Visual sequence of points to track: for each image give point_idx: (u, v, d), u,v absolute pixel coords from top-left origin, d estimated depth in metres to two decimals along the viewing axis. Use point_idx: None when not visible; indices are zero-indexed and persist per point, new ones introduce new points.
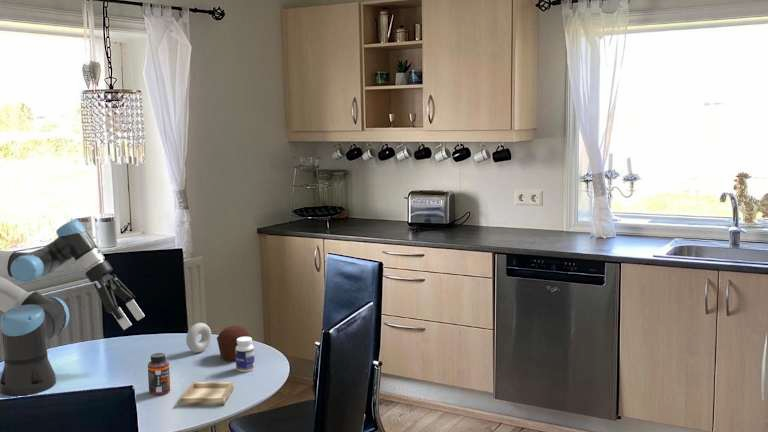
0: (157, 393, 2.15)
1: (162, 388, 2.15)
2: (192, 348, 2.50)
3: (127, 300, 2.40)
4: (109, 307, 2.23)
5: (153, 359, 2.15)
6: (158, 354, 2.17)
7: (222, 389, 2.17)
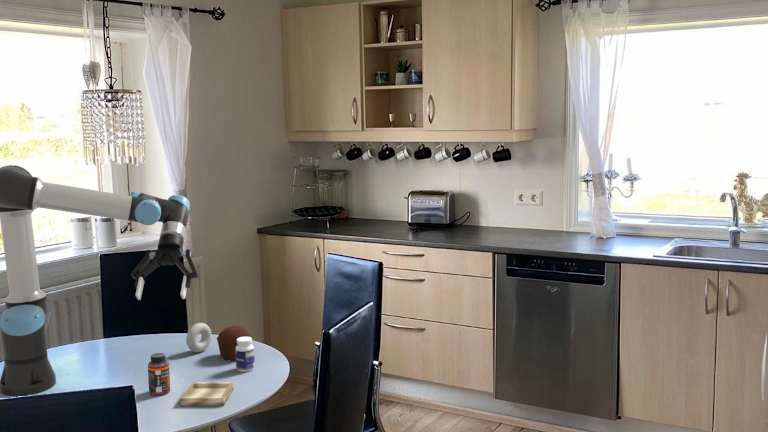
0: (157, 393, 2.15)
1: (162, 388, 2.15)
2: (192, 348, 2.50)
3: (140, 276, 2.31)
4: (197, 274, 2.31)
5: (153, 359, 2.15)
6: (158, 354, 2.17)
7: (222, 389, 2.17)
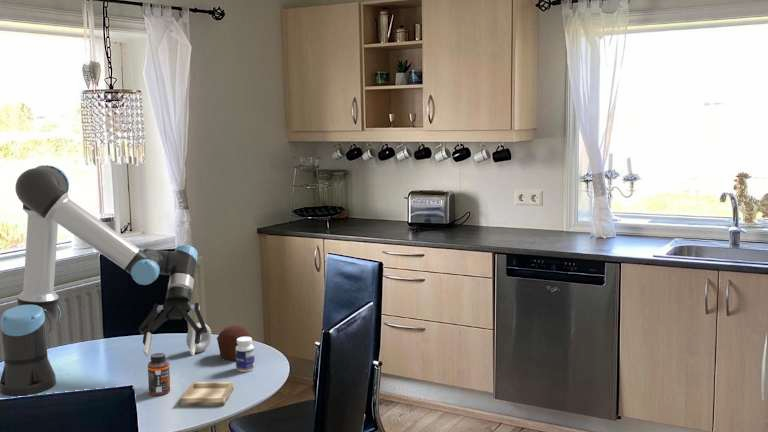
0: (157, 393, 2.15)
1: (162, 388, 2.15)
2: None
3: (148, 331, 2.26)
4: (206, 329, 2.27)
5: (153, 359, 2.15)
6: (158, 354, 2.17)
7: (222, 389, 2.17)
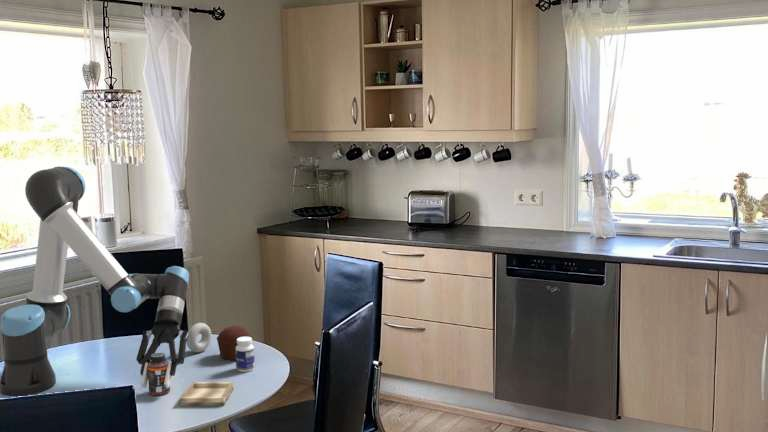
0: (157, 393, 2.15)
1: (162, 388, 2.15)
2: (192, 348, 2.50)
3: (146, 362, 2.18)
4: (182, 361, 2.19)
5: (153, 359, 2.15)
6: (158, 354, 2.16)
7: (222, 389, 2.17)
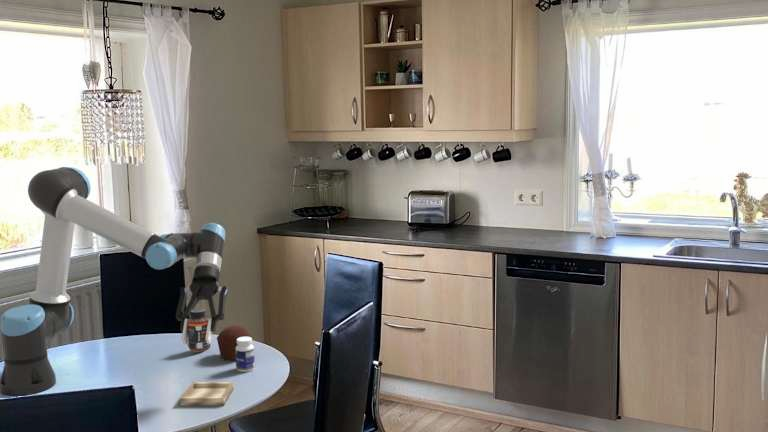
0: (198, 349, 2.10)
1: (203, 344, 2.10)
2: None
3: (186, 318, 2.13)
4: (222, 316, 2.13)
5: (193, 314, 2.09)
6: (198, 310, 2.11)
7: (222, 389, 2.17)
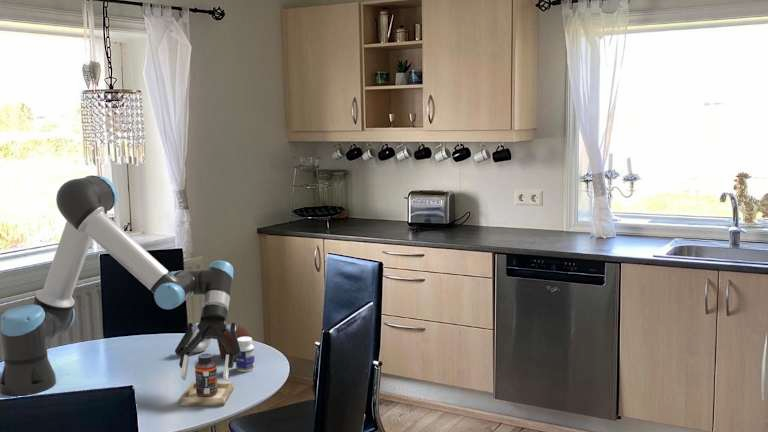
0: (205, 395, 2.11)
1: (210, 390, 2.11)
2: None
3: (185, 354, 2.14)
4: (240, 352, 2.15)
5: (200, 359, 2.11)
6: (206, 355, 2.12)
7: (222, 389, 2.17)
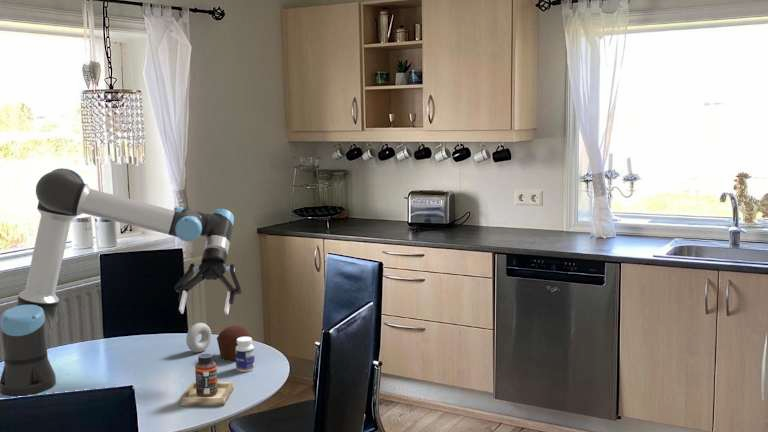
0: (205, 395, 2.11)
1: (210, 390, 2.11)
2: (192, 348, 2.50)
3: (184, 290, 2.30)
4: None
5: (200, 359, 2.11)
6: (206, 355, 2.12)
7: (222, 389, 2.17)
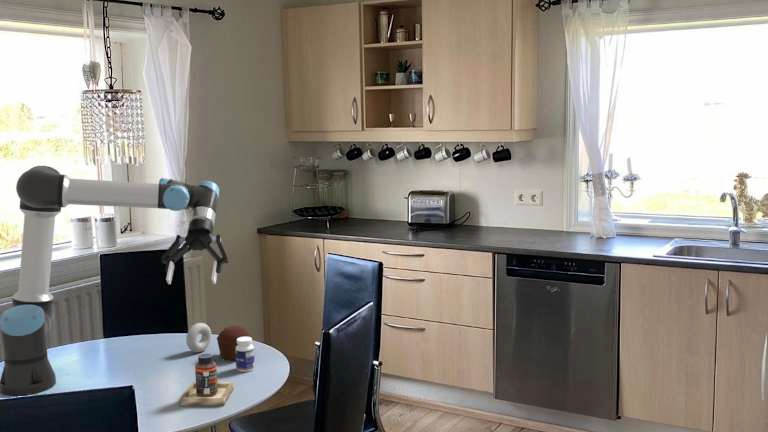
0: (205, 395, 2.11)
1: (210, 390, 2.11)
2: (192, 348, 2.50)
3: (171, 261, 2.30)
4: (227, 259, 2.31)
5: (200, 360, 2.11)
6: (206, 355, 2.12)
7: (222, 389, 2.17)
